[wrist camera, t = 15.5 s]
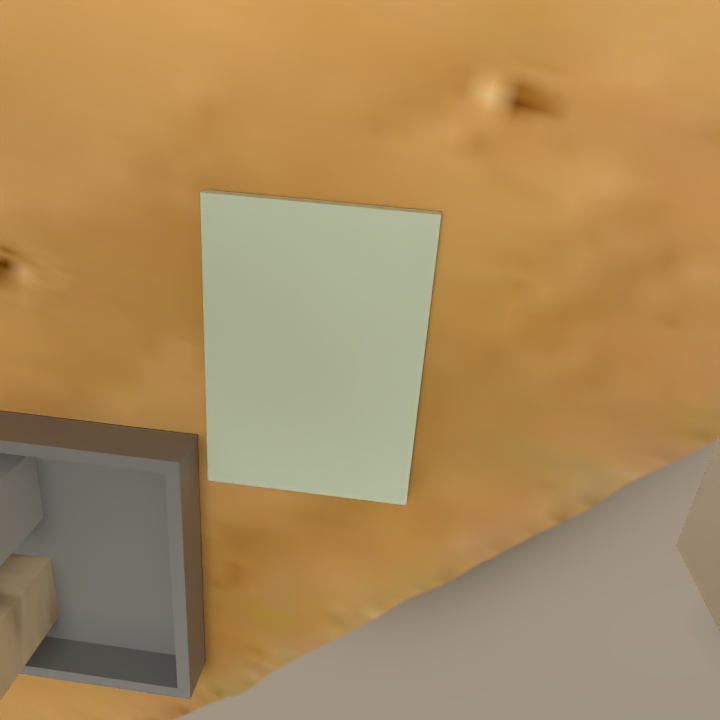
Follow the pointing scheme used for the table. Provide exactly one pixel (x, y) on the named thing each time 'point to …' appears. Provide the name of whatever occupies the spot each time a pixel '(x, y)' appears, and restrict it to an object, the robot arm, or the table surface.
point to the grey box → (18, 501)
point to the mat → (314, 341)
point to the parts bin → (116, 552)
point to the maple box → (24, 612)
